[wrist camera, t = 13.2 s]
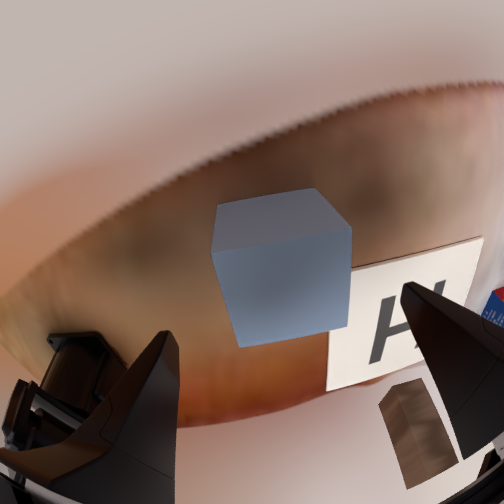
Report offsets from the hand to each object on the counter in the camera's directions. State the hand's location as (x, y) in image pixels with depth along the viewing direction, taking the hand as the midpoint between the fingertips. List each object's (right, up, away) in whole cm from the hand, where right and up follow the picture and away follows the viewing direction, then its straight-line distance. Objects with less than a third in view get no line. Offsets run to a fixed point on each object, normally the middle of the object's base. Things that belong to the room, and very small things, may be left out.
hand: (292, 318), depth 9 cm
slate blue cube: (0, +3, +5) cm, 6 cm away
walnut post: (+17, -15, +17) cm, 28 cm away
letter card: (+11, -4, +10) cm, 15 cm away
